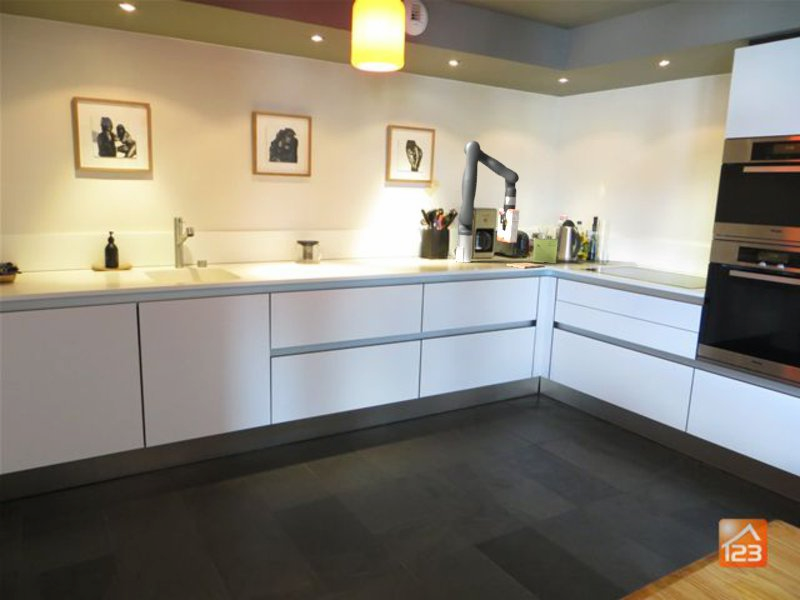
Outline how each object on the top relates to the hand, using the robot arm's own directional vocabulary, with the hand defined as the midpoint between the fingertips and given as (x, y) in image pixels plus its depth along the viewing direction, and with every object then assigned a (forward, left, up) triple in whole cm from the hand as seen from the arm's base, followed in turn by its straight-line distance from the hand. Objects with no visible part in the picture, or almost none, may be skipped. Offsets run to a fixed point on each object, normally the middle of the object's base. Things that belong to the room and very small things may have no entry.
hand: (507, 230), depth 371 cm
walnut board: (-1, -17, -21) cm, 27 cm away
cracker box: (0, 0, -8) cm, 8 cm away
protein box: (+35, -6, -21) cm, 42 cm away
